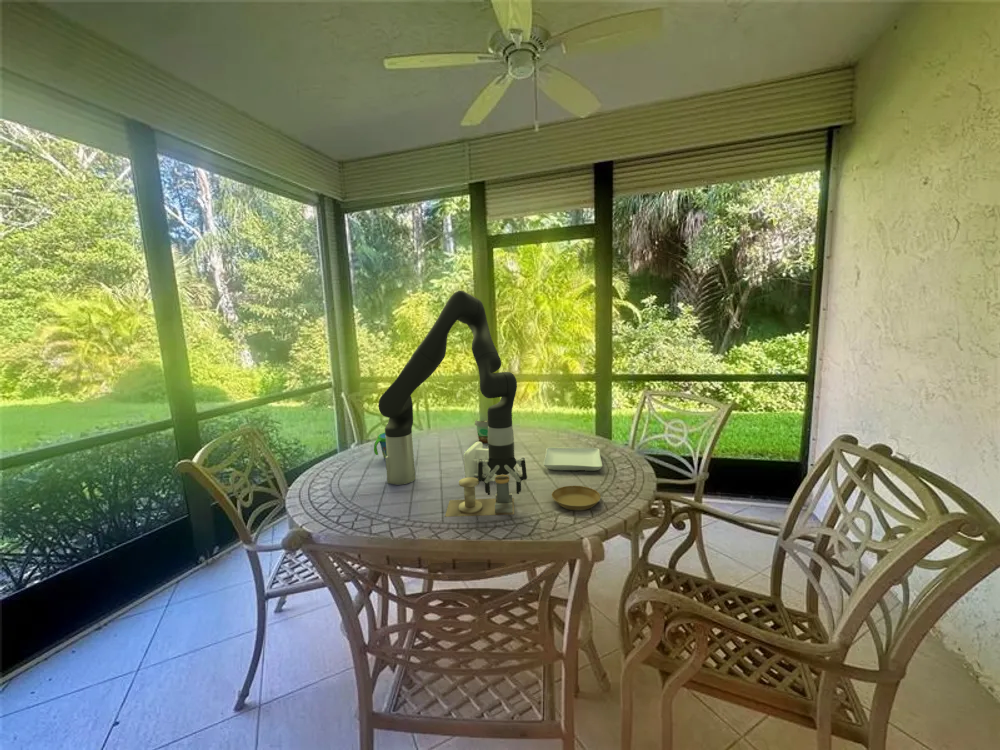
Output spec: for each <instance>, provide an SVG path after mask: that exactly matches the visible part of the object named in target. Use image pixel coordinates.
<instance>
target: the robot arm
mask: <svg viewBox="0 0 1000 750" xmlns="http://www.w3.org/2000/svg"><path fill="white" fill-rule="evenodd" d="M457 321H458V322H460V323H462V324H465V325H467V326H468V327H469V329H470V331H471V333H472V335H473V339H472V343H471V352H472V355H473V358H474V360H475V364H476V365H477V369H478V374H479V375H478V376H479V390H480V393H481V394H482V395H483V397H484V398H485V399H495V398H500V399H499V401H498V402H497V403H494V404H492V405H490V406H489V407H488V409H487V420H488V443H487V445H488V448H487V449H488V451H489V459H488V461H483V460H482V459H480V460H479V463H478V476H477V479H478V481H479V483H480V482H482V483H484V492H485V494H487V496H491V481H490V479H491V478H492V477H493V476H494V474H497V475H507V476H509V474H510V476H511V477H512V478H514V480H515V484H516V486H515V487H516V488H515V489H516V490H515V491H516V495H519V494H520V493H521V492H522V481H526V480H527V479H528V475H527V466H526V465H527V464H526V458H525V457H521V458H520V459H517V458H516V457H515V435H514V434H515V433H514V429H513V413H512V412H513V407H514V403H515V402H514V401H515V398H516V394H517V390H518V381H517V378H516V376H515V374H513V372H511V371H503V372H501V371H500V372H497V371H499V370H500V368H501V367H502V360H501V358H500V357H501V356H499V352H498V350H497V348H496V346H495V344H494V342H493V339H492V335H491V333H490V328H489V323H488V319H487V314H486V310H485V306H484V304H483V302H482V301H481V300H480V299H479V298H477V297H475V296H474V295H472V294H470V293H468V292H467V291H464V290H457V291H455V292H453V294H451V296H450V297H449V298H448V300H447V301H446V303H445V304H444V306H443V308H442V310H441V312H440V313H439V315H438V317H437V319H436V320H435V322H434V324H433V325H432V327H431V329H430V330H429V331H428V332H427V334H426V335H425V337H424V339H423V340H422V341H421V342H420V344H418V346H417V347H416V349H415V351H414V352H413V353H412V355H411V357H410V358H409V360H407V362H406V363H405V365H404V367H403V368H402V369H401V371H400V373H399V375H398V376H397V378H396V379H395V380H394V381H393V382H392V383H391V385H390V386H389V387H388V388H386V390H385V391H384V392H383V394H382V395H380V397H379V399H378V405H377V406H378V411H379V413H380V414H381V415H382V416H383V417H384V418H388V422H387V424H386V426H385V428H384V433H385V437H386V448H387V457H386V460H385V468H386V470H385V471H386V479H387V484H392V485H398V486H399V485H406V484H410V483H412V482H413V481H415V480H416V469H415V458H414V456H415V455H414V444H413V442H414V441H413V431H412V429H413V424H414V405H413V399H412V394H413V393H414V392H415V391H416V389H418V388H419V387H420V386H421V385H422V384H423V383H425V381H427V380H428V379H429V378H430V377H431V376H432V374H433V373H435V371H436V370H437V368H439V366H440V364H441V363H442V362H443V360H444V359H445V356H446V353H447V346H448V345H447V341H448V336H449V333H450V331H451V329H452V328H453V327H454V325H455V324H456V322H457ZM486 465H488V466H489V467H490V471H489V472H488V474H487V475H486V474H485V475H484V474H483V468H485V466H486ZM517 465H518V467H519V468H521V474H520V473H518V472H517V469H515V467H516V466H517Z"/></svg>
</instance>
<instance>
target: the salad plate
mask: <svg viewBox="0 0 1000 750" xmlns="http://www.w3.org/2000/svg"><path fill="white" fill-rule="evenodd" d="M542 465H543V467H545V468H547V469H548V470H552V471H553V470H554V471H563V470H585V471H584V472H593V471H595V472H596V471H598V470H601V468H603V462H602V458H601V451H600V448H598V447H546V449H545V456H544V459H543V463H542Z"/></svg>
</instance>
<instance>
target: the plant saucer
mask: <svg viewBox="0 0 1000 750" xmlns="http://www.w3.org/2000/svg"><path fill="white" fill-rule="evenodd" d="M551 498H552V499H553V500H554V502H555V503H556V504H558V505H559V506H560V507H562V508H564V509H566V510H569V511H585V510H589V509H591V508H593V507H595V505H597V504H598V503H599V502H600V500H601V494H600V493H599V492H598V491H597V490H596V489H594V488H592V487H588V486H583V485H566V486H561V487H557V488H556V489H554V490H553V491H552V492H551Z"/></svg>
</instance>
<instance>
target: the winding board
mask: <svg viewBox="0 0 1000 750" xmlns="http://www.w3.org/2000/svg"><path fill="white" fill-rule="evenodd" d="M475 501H479V502H481V503H482V509H481V510H480V511H478V512H476V513H462V512H460V511H459V504H461V503H462V502H465V499H449V502H448V505H447V509H446V511H445V514H444V517H445V518H447V517H449V518H451V517H454V518H455V517H475V516H476V517H479V516H481V517H482V516H503V515H504V516H508V515H510V516H511V515H515V498H514V497H513V493H512V492H511V493H510V492H509V503H497V493H495V498H475Z"/></svg>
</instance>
